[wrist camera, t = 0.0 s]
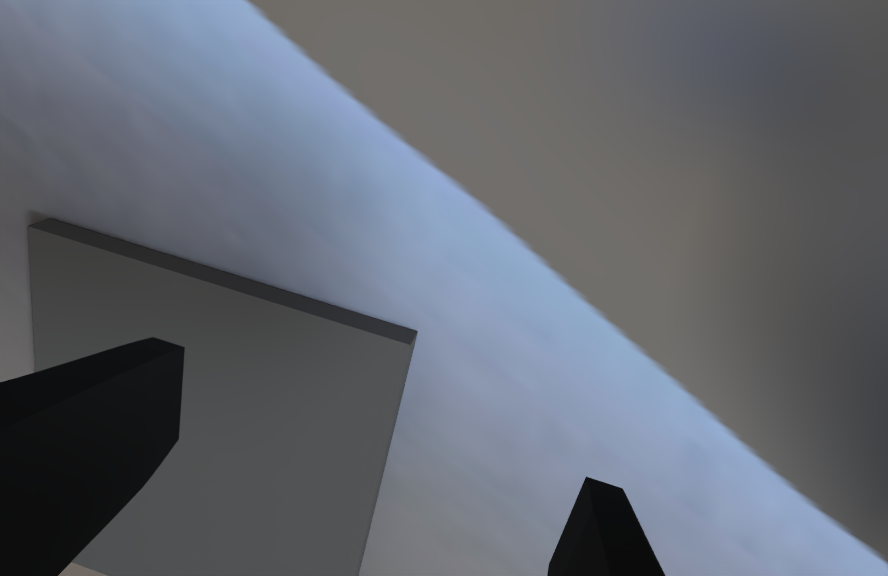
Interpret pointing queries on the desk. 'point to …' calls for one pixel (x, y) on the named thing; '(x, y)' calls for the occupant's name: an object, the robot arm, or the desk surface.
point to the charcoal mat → (231, 409)
